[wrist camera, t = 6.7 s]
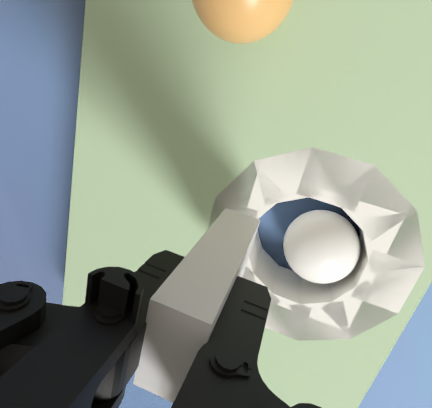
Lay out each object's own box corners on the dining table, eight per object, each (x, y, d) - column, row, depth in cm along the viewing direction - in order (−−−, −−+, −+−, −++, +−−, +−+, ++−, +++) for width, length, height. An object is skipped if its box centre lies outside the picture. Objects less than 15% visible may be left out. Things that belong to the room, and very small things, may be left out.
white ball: (303, 251, 18) (260, 260, 16) (326, 196, 17) (282, 198, 15) (356, 290, 16) (312, 307, 14) (388, 230, 14) (344, 238, 12)
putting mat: (88, 308, 23) (60, 335, 20) (131, -64, 15) (93, -97, 12) (325, 412, 20) (327, 459, 17) (541, 13, 12) (603, -10, 9)
